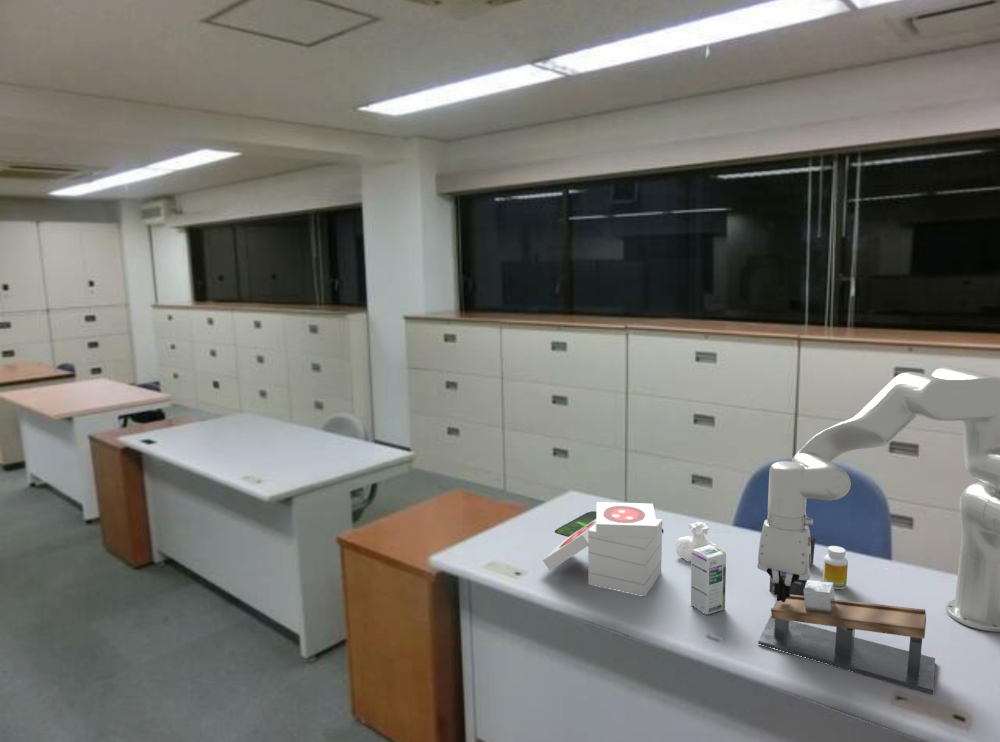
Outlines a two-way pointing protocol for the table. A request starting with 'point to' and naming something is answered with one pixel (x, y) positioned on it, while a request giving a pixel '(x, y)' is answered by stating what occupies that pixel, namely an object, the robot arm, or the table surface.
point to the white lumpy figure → (693, 541)
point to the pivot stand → (853, 653)
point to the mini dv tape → (796, 586)
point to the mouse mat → (577, 524)
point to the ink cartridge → (812, 548)
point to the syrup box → (708, 579)
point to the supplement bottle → (835, 567)
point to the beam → (856, 616)
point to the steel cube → (819, 597)
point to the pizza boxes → (617, 547)
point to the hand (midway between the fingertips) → (781, 598)
